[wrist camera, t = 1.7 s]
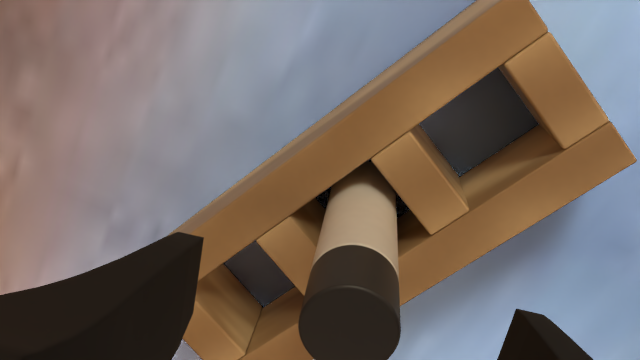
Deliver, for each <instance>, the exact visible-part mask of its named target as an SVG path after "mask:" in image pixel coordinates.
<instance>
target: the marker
mask: <svg viewBox="0 0 640 360" xmlns="http://www.w3.org/2000/svg"><path fill="white" fill-rule="evenodd" d="M298 330H299V335H300V339H301V341H302V343H303V345H304V347H305V349H306V350H307V351H308V353H309V354H310V355H311V356H312V357H313V358H314V359H315V360H387V359H388V358H389V357H390V356H391V355H392V354H393V352H394V351H395V349H396V347H397V345H398V343H399V339H400V333H401V325H400V297H399V268H398V240H397V212H396V191H395V190H394V189H393V187H392V186H391V185H390V184H389V182H388V181H387V180H386V179H385V177H384V176H383V175H382V173H381V172H380V171H379V170H378V168H377V167H376V166H375V165H374V163H372V162H364V163H363V164H361V165H360V166H359V167H357V168H356V169H354V170H353V171H352V172H350V173H349V174H347V175H346V176H345V177H343V178H342V179H340V180H339V181H338V182H336V183H335V184H333V185H332V188H331V192H330V196H329V200H328V204H327V208H326V212H325V216H324V220H323V224H322V228H321V232H320V236H319V240H318V244H317V248H316V252H315V255H314V259H313V263H312V267H311V272H310V275H309V279H308V283H307V287H306V291H305V295H304V299H303V303H302V307H301V311H300V315H299V320H298Z"/></svg>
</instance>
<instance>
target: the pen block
mask: <svg viewBox="0 0 640 360" xmlns="http://www.w3.org/2000/svg"><path fill="white" fill-rule="evenodd" d="M497 67H498V68H499V69H500V70H501V72H502V73H503V75H504V76H505V77H506V79H507V80H508V82H509V83H510V85H511V86H512V87H513V89H514V90H515V92H516V93H517V94H518V96H519V97H520V99H521V100H522V101H523V103H524V104H525V106H526V107H527V109H528V110H529V111H530V113H531V114H532V116H533V117H534V118H535V120H536V121H537V123H538V124H539V125H537V126H536V127H534V128H533V129H531V130H530V131H528V132H527V133H525V134H524V135H522V136H521V137H519V138H518V139H516V140H515V141H513V142H512V143H510V144H509V145H507V146H506V147H504V148H503V149H501V150H500V151H498V152H497V153H495V154H494V155H492V156H491V157H489V158H488V159H486V160H485V161H483V162H482V163H480V164H479V165H477V166H476V167H474V168H473V169H471V170H470V171H468V172H467V173H465V174H464V175H462V176H461V177H459V176H458V174H457V173H456V172H455V170H454V169H453V168H452V167H451V165H450V164H449V163H448V161H447V160H446V159H445V157H444V156H443V155H442V153H441V152H440V151H439V149H438V148H437V147H436V145H435V144H434V143H433V142H432V140H431V139H430V138H429V136H428V135H427V134H426V132H425V131H424V130H423V128H422V127H421V126H420V124H419V123H420V122H422V121H423V120H425V119H426V118H427V117H429V116H430V115H432V114H433V113H434V112H436V111H437V110H439V109H440V108H441V107H443V106H444V105H446V104H447V103H448V102H450V101H451V100H453V99H454V98H455V97H457V96H458V95H460V94H461V93H462V92H464V91H465V90H467V89H468V88H469V87H471V86H472V85H474V84H475V83H476V82H478V81H479V80H481V79H482V78H483V77H485V76H486V75H488V74H489V73H490V72H492V71H493V70H495V69H496V68H497ZM370 158H371V160H372V162H373V163H374V165H375V166H376V167H377V168H378V170H379V171H380V172H381V173H382V175H383V176H384V177H385V179H386V180H387V181H388V182H389V184H390V185H391V186H392V187H393V189H394V190H395V191H396V192H397V194H398V195H399V196H400V197H401V199H402V200H403V201H404V202H405V204H406V205H407V206H408V208H409V209H410V210H409V211H408V212H406V213H405V214H403V215H402V216H400V217H399V218H397V240H398V268H399V297H400V306H401V305H403V304H404V303H406V302H408V301H409V300H411V299H412V298H414V297H416V296H417V295H419V294H421V293H422V292H424V291H426V290H427V289H429V288H430V287H432V286H434V285H435V284H437V283H439V282H440V281H442V280H444V279H445V278H447V277H448V276H450V275H452V274H453V273H455V272H457V271H458V270H460V269H462V268H463V267H465V266H466V265H468V264H470V263H471V262H473V261H475V260H476V259H478V258H479V257H481V256H483V255H484V254H486V253H488V252H489V251H491V250H493V249H494V248H496V247H497V246H499V245H501V244H502V243H504V242H506V241H507V240H509V239H511V238H512V237H514V236H515V235H517V234H519V233H520V232H522V231H524V230H525V229H527V228H529V227H530V226H532V225H533V224H535V223H537V222H538V221H540V220H542V219H543V218H545V217H547V216H548V215H550V214H551V213H553V212H555V211H556V210H558V209H560V208H561V207H563V206H565V205H566V204H568V203H569V202H571V201H573V200H574V199H576V198H578V197H579V196H581V195H583V194H584V193H586V192H587V191H589V190H591V189H592V188H594V187H596V186H597V185H599V184H601V183H602V182H604V181H605V180H607V179H609V178H610V177H612V176H614V175H615V174H617V173H619V172H620V171H622V170H623V169H625V168H627V167H628V166H630V165H632V164H633V163H635V162H636V161H637V160H636V158H635V157H634V155H633V154H632V152H631V151H630V149H629V148H628V146H627V145H626V143H625V142H624V140H623V139H622V137H621V136H620V134H619V133H618V131H617V130H616V128H615V127H614V125H613V124H612V122H610V121H609V120H608V117H607V115H606V114H605V112H604V111H603V110H602V108H601V107H600V105H599V104H598V102H597V101H596V99H595V98H594V96H593V95H592V93H591V92H590V90H589V89H588V87H587V86H586V84H585V83H584V81H583V80H582V78H581V77H580V75H579V74H578V72H577V71H576V69H575V68H574V67H573V65H572V64H571V62H570V61H569V59H568V58H567V56H566V55H565V53H564V52H563V50H562V49H561V47H560V46H559V44H558V43H557V41H556V40H555V38H554V37H553V35H552V34H551V33H550V32H548V28H547V26H546V25H545V23H544V22H543V20H542V19H541V17H540V16H539V15H538V13H537V12H536V10H535V9H534V7H533V6H532V4H531V3H530V1H529V0H476V1H475V2H474V3H472V4H471V5H470V6H468V7H467V8H466V9H465V10H463V11H462V12H461V13H459V14H458V15H457V16H455V17H454V18H453V19H451V20H450V21H449V22H447V23H446V24H445V25H444V26H442V27H441V28H440V29H438V30H437V31H436V32H434V33H433V34H432V35H430V36H429V37H428V38H426V39H425V40H424V41H422V42H421V43H420V44H419V45H417V46H416V47H415V48H413V49H412V50H411V51H409V52H408V53H407V54H405V55H404V56H403V57H401V58H400V59H399V60H398V61H396V62H395V63H394V64H392V65H391V66H390V67H388V68H387V69H386V70H384V71H383V72H382V73H380V74H379V75H378V76H376V77H375V78H374V79H373V80H371V81H370V82H369V83H367V84H366V85H365V86H363V87H362V88H361V89H359V90H358V91H357V92H355V93H354V94H353V95H352V96H350V97H349V98H348V99H346V100H345V101H344V102H342V103H341V104H340V105H338V106H337V107H336V108H334V109H333V110H332V111H330V112H329V113H328V114H327V115H325V116H324V117H323V118H321V119H320V120H319V121H317V122H316V123H315V124H313V125H312V126H311V127H309V128H308V129H307V130H306V131H304V132H303V133H302V134H300V135H299V136H298V137H296V138H295V139H294V140H292V141H291V142H290V143H288V144H287V145H286V146H284V147H283V148H282V149H281V150H279V151H278V152H277V153H275V154H274V155H273V156H271V157H270V158H269V159H267V160H266V161H265V162H263V163H262V164H261V165H260V166H258V167H257V168H256V169H254V170H253V171H252V172H250V173H249V174H248V175H246V176H245V177H244V178H242V179H241V180H240V181H238V182H237V183H236V184H235V185H233V186H232V187H231V188H229V189H228V190H227V191H225V192H224V193H223V194H221V195H220V196H219V197H217V198H216V199H215V200H214V201H212V202H211V203H210V204H208V205H207V206H206V207H204V208H203V209H202V210H200V211H199V212H198V213H196V214H195V215H194V216H192V217H191V218H190V219H189V220H187V221H186V222H185V223H183V224H182V225H181V226H179V227H178V228H177V229H175V230H174V231H173V232H171V233H170V234H169V235H171V234H173V233H176V232H182V233H187V234H191V235H195V236H200V237H204V241H203V248H202V255H201V262H200V269H199V276H198V283H197V290H196V297H195V304H194V311H193V315H192V317H191V320H190V322H189V324H188V327H187V329H186V331H185V334H184V336H183V338H182V339H183V340H184V341H185V342H186V343H187V344H188V345H189V346H190V347H191V348H192V349H193V350H194V351H195V352H196V353H197V354H198V355H199V357H200V358H201V359H202V360H313V359H314V358H313V357H312V356H311V355H310V354H309V353H308V351H307V350H306V349H305V347H304V345H303V343H302V341H301V339H300V335H299V330H298V320H299V315H300V311H301V307H302V303H303V299H304V295H305V291H306V287H307V283H308V279H309V275H310V272H311V267H312V263H313V259H314V255H315V252H316V248H317V244H318V240H319V236H320V232H321V228H322V224H323V220H324V216H325V212H326V210H325V209H324V208H323V207H322V205H321V204H320V203H319V202H318V201H317V199H316V198H315V197H317V196H318V195H319V194H321V193H322V192H324V191H325V190H326V189H328V188H329V187H331V186H332V185H333V184H335V183H336V182H338V181H339V180H340V179H342V178H343V177H345V176H346V175H347V174H349V173H350V172H352V171H353V170H354V169H356V168H357V167H359V166H360V165H361V164H363V163H364V162H366V161H367V160H369V159H370ZM169 235H168V236H169ZM166 237H167V236H166ZM256 239H257V240H256ZM255 240H256V242H257V243H258V244H259V245H260V246H261V248H262V249H263V250H264V251H265V252H266V253H267V254H268V256H269V257H270V258H271V259H272V260H273V261H274V262H275V264H276V265H277V266H278V267H279V268H280V269H281V270H282V272H283V273H284V274H285V275H286V276H287V277H288V278H289V279H290V281H291V282H292V283H293V284H294V285H295V287H294V288H292V289H291V290H289V291H288V292H286V293H285V294H283V295H282V296H280V297H279V298H277V299H276V300H274V301H273V302H271V303H270V304H268V305H267V306H265V307H264V308H262V306H261V305H260V304H259V303H258V301H257V300H256V299H255V298H254V297H253V296H252V295H251V294H250V293H249V292H248V290H247V289H246V288H245V287H244V286H243V285H242V284H241V283H240V282H239V280H238V279H237V278H236V277H235V276H234V275H233V274H232V273H231V272H230V270H229V269H228V268H227V267H226V266H225V265H224V264H223V263H224V262H226V261H227V260H228V259H230V258H231V257H233V256H234V255H235V254H237V253H238V252H240V251H241V250H242V249H244V248H245V247H247V246H248V245H249V244H251V243H252V242H254V241H255Z"/></svg>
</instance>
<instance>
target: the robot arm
mask: <svg viewBox="0 0 640 360" xmlns="http://www.w3.org/2000/svg"><path fill="white" fill-rule="evenodd" d="M203 241H204V237H200V236H195V235H191V234H187V233H182V232H176V233H173V234H171V235H169V236H167V237H164V238H162V239H160V240H158V241H156V242H154V243H152V244H150V245H148V246H146V247H144V248H142V249H139V250H137V251H135V252H133V253H131V254H129V255H127V256H124V257H122V258H120V259H118V260H115V261H113V262H110V263H108V264H105V265H103V266H100V267H98V268H95V269H93V270H90V271H88V272H85V273H83V274H80V275H77V276H74V277H71V278H68V279H65V280H61V281H58V282H55V283H51V284H48V285H44V286H40V287H36V288H32V289H27V290H23V291H18V292H13V293H8V294H4V295H0V360H171V359H172V358H173V356H174V354H175V353H176V351H177V349H178V347H179V345H180V343H181V340H182V338H183V336H184V334H185V331H186V329H187V327H188V324H189V322H190V320H191V317H192V315H193V311H194V304H195V297H196V290H197V283H198V276H199V269H200V262H201V255H202V248H203ZM497 360H593V359H592V358H591V357H590V356H589V355H588V354H587V353H586V352H585V351H584V350H582V349H581V348H580V347H579V346H578V345H577V344H576V343H575V342H574V341H573V340H572V339H571V338H570V337H569V336H568V335H567V334H565V333H564V332H563V331H562V330H561V329H560V328H559V327H558V326H557V325H555V324H554V323H553V322H552V321H551V320H550V319H548V318H547V317H546V316H544V315H542V314H537V313H533V312H529V311H524V310H520V309H516V311H515V314H514V316H513V319H512V322H511V324H510V327H509V330H508V332H507V335H506V338H505V341H504V343H503V346H502V349H501V351H500V354H499V357H498V359H497Z"/></svg>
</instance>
